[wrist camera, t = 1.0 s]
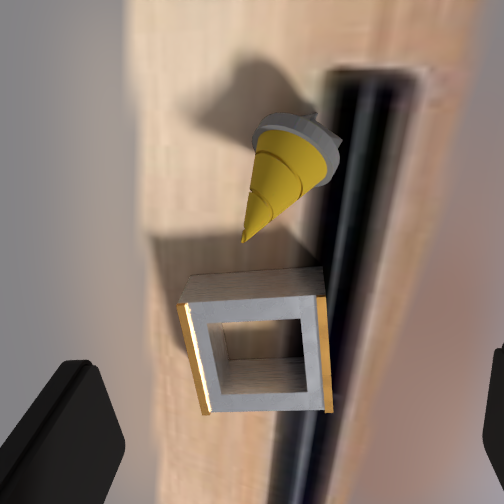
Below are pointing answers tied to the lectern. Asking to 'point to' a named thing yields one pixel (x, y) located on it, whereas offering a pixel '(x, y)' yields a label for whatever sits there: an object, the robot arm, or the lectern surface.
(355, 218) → the lectern surface
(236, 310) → the block
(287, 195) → the drill bit
